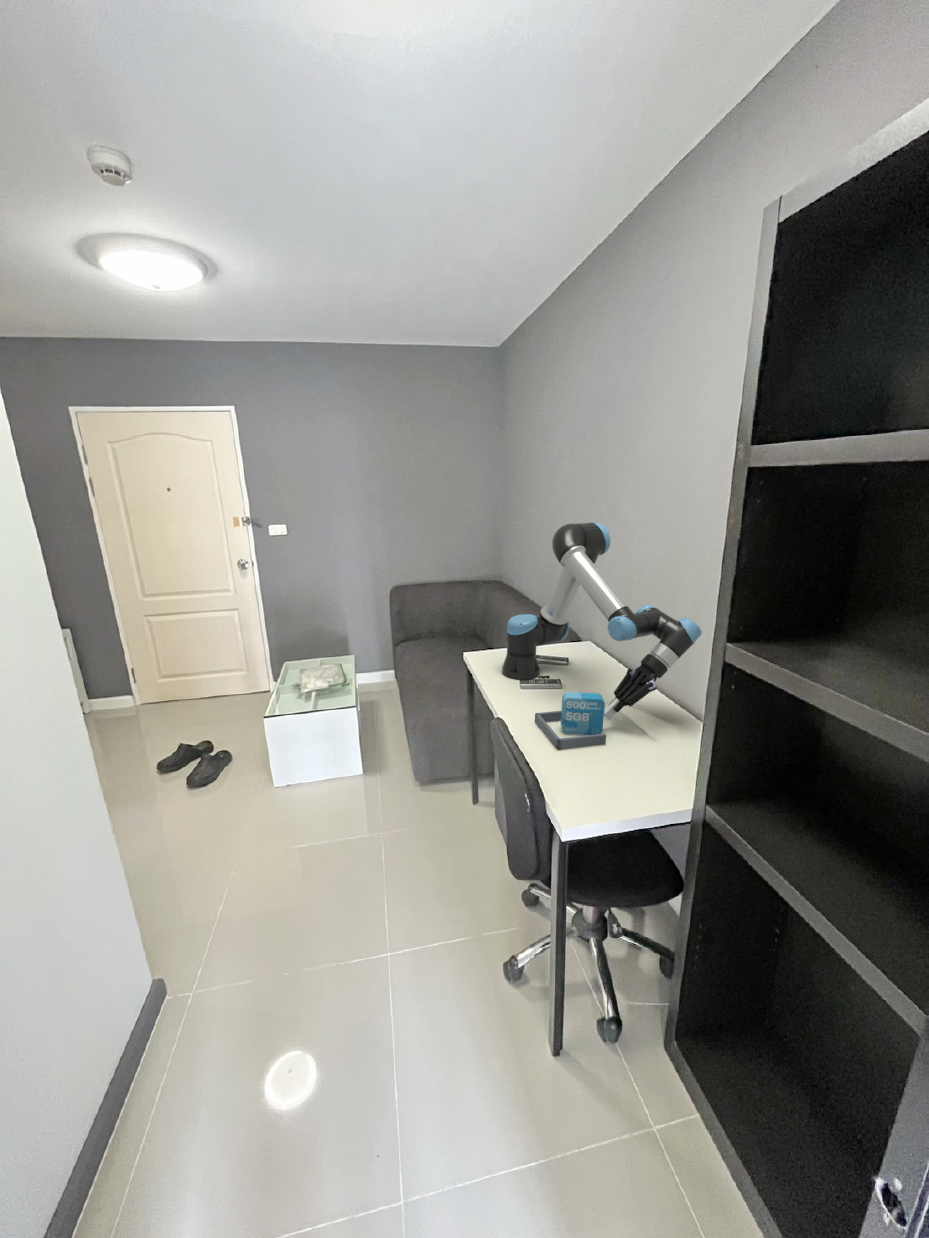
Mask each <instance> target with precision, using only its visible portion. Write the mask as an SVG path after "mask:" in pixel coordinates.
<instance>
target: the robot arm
mask: <svg viewBox="0 0 929 1238" xmlns="http://www.w3.org/2000/svg"><path fill="white" fill-rule="evenodd" d="M551 541H552V542H551V543H552V544H551V545H552V547H551V548H552V551H553V554H554V556H555V558H556V560H557V561H558V562H559V564H560V565H561V567H562V569H561V572H560V574H559V575H558V579H557V581H556V583H555V586H554V588H553V590H552V593H551V595H550V597H549V600H548V602H547V604H546V605H545V606H543V607H541V609H540V610H539V614H538V615H537V616H536V615H534V614H531V613H530V614H529V613H525V614H518V615H517V614H516V615H514V616H512V617H511V618H509V619H508V623H507V629H506V632H507V634H506V636H507V639H506V655H505V658H504V662H503V665H502V667H501V674H502V675H503V676H505V677H507V678H510V679H513V680H523V679H526V680H532V679H535V678H538V677H539V676H540V674H541V673H540V672H541V669H540V665H539V662H538V658H537V647H539V646H543V645H550V644H555V643H558V642H561V641H563V640H564V639H566V638H567V637H568V635H569V632H570V627H571V626H569V625H570V621H569V616H568V612H569V609H570V608H571V606H572V604H573V601H574V599H575V597H576V595H577V593H578V590H579V589H580V586H581V588H582V589H583V590H584V592H585V593H586V594H587V595H588V597H589V598H590V600H591V601H592V602H593V604H594V605H596V607H597V609H599V611H600V612H601V614H602V615H603V617H604V618H605V619H606V620H607V622H608V624H607V630H608V635H609V636H610V638H611V639H613V640H614V641H617V642H625V641H631V640H633V639H637V638H642V637H647V636H651V635H653V636H654V637H656V638H657V639H659V641H658V642H657V643H656V644H655V646H653V647H652V649H651V650H650V651H649V653H647V654H646V655H645V656H644V657H643V658H642V660H641V661H640V665H639V666H638V667H636V668H635V669H631V668H628V669H627V671H626V673H625V675H624V677H623V679H622V680H621V681H620V683H619V684H618V686H617V687H616V688H615V690H614V691H613V694H614V695H615V698H614V699H612V701H611V702H610V703H609V704H608V706H607V707H606V708H604V717H605V719H607V720H608V721H610V720H612V718H613V717H615V715H616V714H617V713H619V712H620V711H621V710H622V709H623V708H624V707H625V706H626V707H627V706H629V708H630V707H633V705H635V704H636V703H638V702H639V701H641V700H642V699H643V698H645V697H646V696H647V695H648V694H650V693H651V692H654V691H656V690H657V689H658V688H657V686H656V685H655V682H656V681H657V679H661V678H662V677H663V676H664V675H665V674H666V673H667V672H668V669H671V668H672V667H673V665H674V664H676V662H677V661H678V660H679V659H680V658H681V657H682V656H683V655H684V654H685V653H686V652H687V651H688V650H689V649H690V648H691V647H692V646H693V645H694V644H695V643H696V641H698V639H699V638H700V637H701V636H702V633H703V632H702V628H701V627H700V625H698V624H697V623H696V622H695V621H693V620H692V619H690V618H687V617H685V616H684V617H682V618H680V619H679V620H677V619H674V618H673V617H671V616H669V614H666V613H664V612H663V611H662V610H660V609H659V608H657V607H655V606H653V605H651V604H643V605H642V606H640V607H638V609H637V610H636V612H635V613H634V612H633V610H632V609H631V608H630V607H629V606H628V605H627V604H626V602H625V601H624V600H623V598H622V597H621V596H620V595H619V593H618V592H617V590H615V588H614V587H613V585H611V583H610V582H609V581H608V580H607V579H606V577H605V576H604V575H603V573H602V572H601V571H600V569H598V567H597V566H596V565H595V564H596V562H597V559H598V557H599V556H602V555H604V554H606V553H607V552H608V550H609V548H610V546H611V536H610V532H609V530H608V528H607V527H606V526H605V525H603V524H602V523H599V522H584V523H583V522H582V523H581V522H580V523H567V524H563V525H562V526H561V527H559V528H558V529H557V530H556V531H555V533H554V535H553V537H552V540H551Z"/></svg>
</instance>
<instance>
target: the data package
mask: <svg viewBox="0 0 929 1238" xmlns="http://www.w3.org/2000/svg"><path fill="white" fill-rule="evenodd" d="M561 700H562V701H561V711H562V712H561V721H560V726H561V730H562V733H563V734H565V735H576V736H586V735H595V734H603V729H604V719H605V718H604V717H605V716H604V710H605V705H606V703H605V700H604V697H603V695H602V694H601V693H598V692H579V691H567V692H563V694H562V698H561Z"/></svg>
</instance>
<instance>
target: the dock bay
mask: <svg viewBox="0 0 929 1238" xmlns="http://www.w3.org/2000/svg"><path fill="white" fill-rule="evenodd" d="M561 712H562V710H556V711H555V710H553V711H543V712H535V713H534V723H535V724H536V726H537V727H538V728H539V729H540V730H541V732H542V733H543V734H544V735H545V737H546V738H547V739H548V740H549V742H550V743H551V744H552V745H553V747H555V749H556V750H557V751H560V750H561V751H563V750H568V749H577V748H586V747H593V746H604V745H606V744H607V743H606V742H607V734H606V733H603V732H602V733H601V734H595V735H576V736H571V737H562V738H560V737H559V736H558V734H557V733H556V732H555V731H554V730H553V729H552V727H551V726H550V725H549V724H548V723H549V722H550V723H551V722H561Z"/></svg>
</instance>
